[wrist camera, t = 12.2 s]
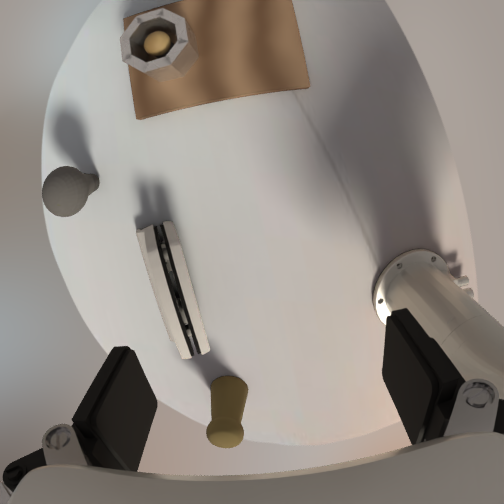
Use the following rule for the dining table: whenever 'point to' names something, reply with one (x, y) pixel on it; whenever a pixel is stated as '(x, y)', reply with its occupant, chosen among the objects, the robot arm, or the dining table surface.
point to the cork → (227, 411)
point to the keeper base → (224, 55)
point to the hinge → (172, 309)
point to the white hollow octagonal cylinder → (177, 57)
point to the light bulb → (67, 190)
